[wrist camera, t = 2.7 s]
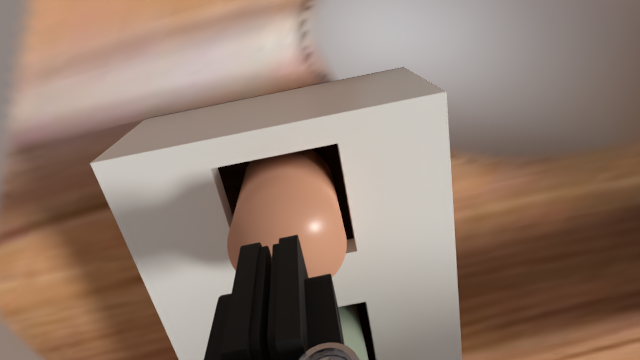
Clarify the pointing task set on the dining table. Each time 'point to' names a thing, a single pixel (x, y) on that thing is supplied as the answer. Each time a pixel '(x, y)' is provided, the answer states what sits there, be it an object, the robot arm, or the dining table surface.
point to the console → (361, 191)
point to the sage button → (353, 330)
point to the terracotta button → (290, 210)
